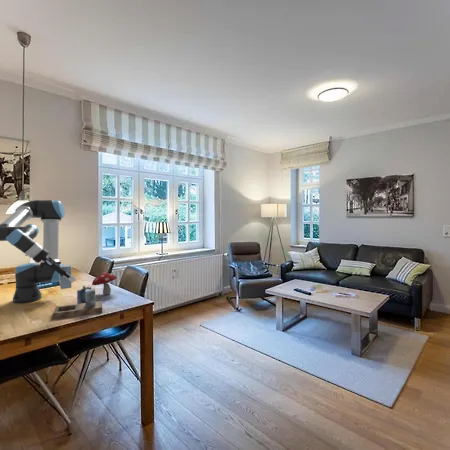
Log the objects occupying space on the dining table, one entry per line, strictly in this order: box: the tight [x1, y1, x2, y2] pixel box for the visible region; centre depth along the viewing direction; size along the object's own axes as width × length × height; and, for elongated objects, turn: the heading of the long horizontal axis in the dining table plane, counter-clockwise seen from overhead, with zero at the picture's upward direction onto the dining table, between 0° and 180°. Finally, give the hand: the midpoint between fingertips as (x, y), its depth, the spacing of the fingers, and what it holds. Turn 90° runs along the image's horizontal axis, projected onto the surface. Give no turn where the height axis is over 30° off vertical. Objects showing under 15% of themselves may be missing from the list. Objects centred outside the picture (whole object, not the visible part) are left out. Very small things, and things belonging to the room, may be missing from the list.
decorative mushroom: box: [91, 272, 118, 295], centre depth 194 cm, size 16×16×15 cm
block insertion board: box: [52, 288, 103, 320], centre depth 160 cm, size 24×12×12 cm, turn 114°
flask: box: [76, 285, 92, 304], centre depth 176 cm, size 9×3×11 cm, turn 151°
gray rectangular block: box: [59, 264, 72, 290], centre depth 156 cm, size 5×5×12 cm
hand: (73, 279), depth 158 cm, fingers closed on gray rectangular block, 5 cm apart
